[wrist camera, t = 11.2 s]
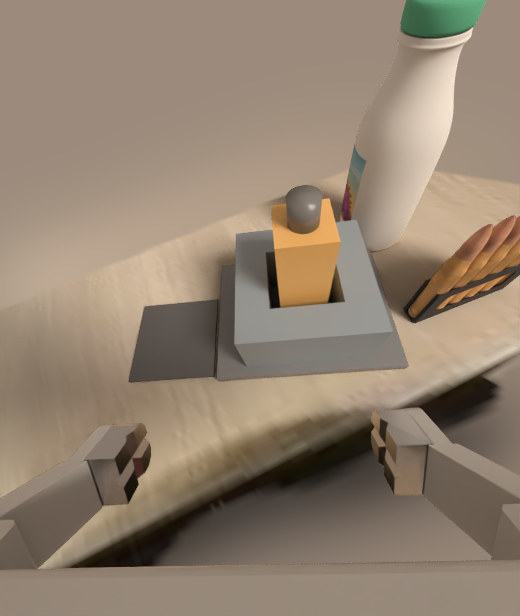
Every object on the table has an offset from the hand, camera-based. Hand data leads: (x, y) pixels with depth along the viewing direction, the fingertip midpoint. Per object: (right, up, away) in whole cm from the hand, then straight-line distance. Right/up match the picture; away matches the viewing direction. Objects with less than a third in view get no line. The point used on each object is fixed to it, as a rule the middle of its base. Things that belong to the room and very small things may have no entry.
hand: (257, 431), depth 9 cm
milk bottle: (+14, +14, +24) cm, 31 cm away
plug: (+4, +4, +19) cm, 20 cm away
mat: (-9, +1, +20) cm, 22 cm away
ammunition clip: (+21, +5, +18) cm, 28 cm away
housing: (+5, +4, +19) cm, 20 cm away
